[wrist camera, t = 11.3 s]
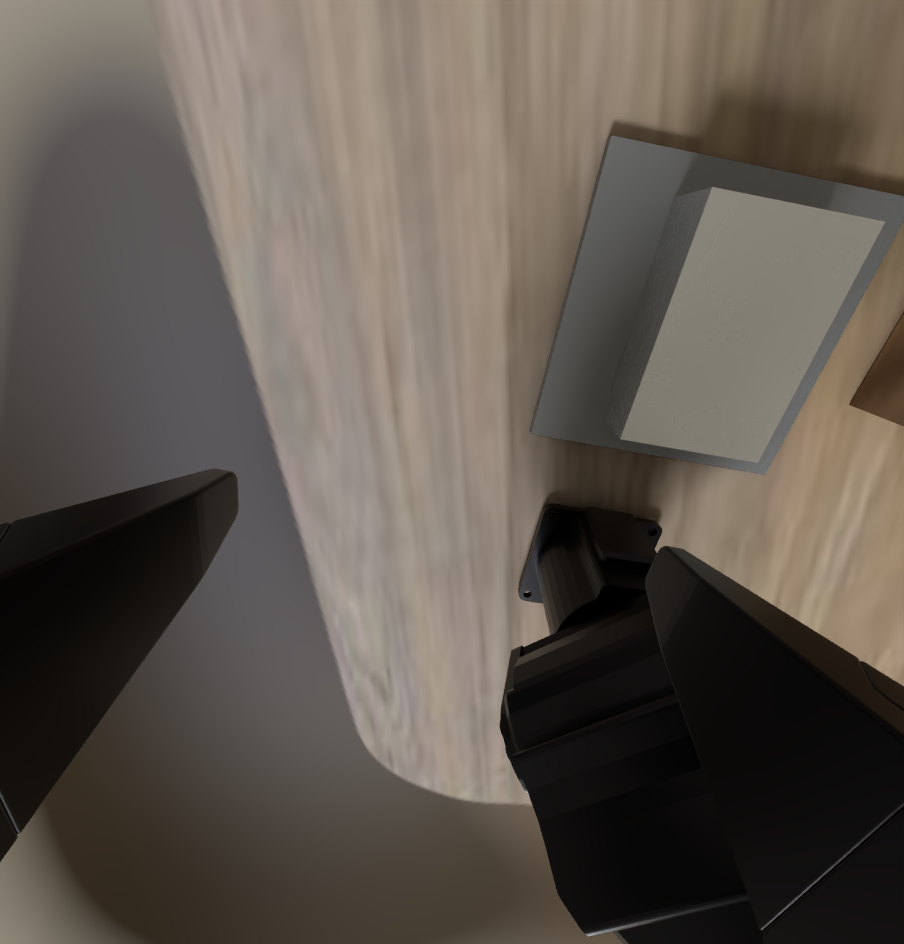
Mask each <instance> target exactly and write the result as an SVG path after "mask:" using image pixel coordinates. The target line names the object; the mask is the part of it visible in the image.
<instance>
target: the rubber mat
mask: <svg viewBox="0 0 904 944" xmlns="http://www.w3.org/2000/svg"><path fill="white" fill-rule="evenodd" d="M710 187H716V188H720V189H725V190H730V191H735V192H740V193H745V194H750V195H755V196H760V197H765V198H770V199H775V200H780V201H785V202H790V203H795V204H800V205H805V206H810V207H815V208H820V209H825V210H830V211H835V212H840V213H845V214H850V215H855V216H859V217H864V218H869V219H874V220H879V221H884V222H885V223H884V225H883V227H882V229H881V231H880V233H879V235H878V237H877V238H876V240H875V242H874V244H873V246H872V248H871V250H870V252H869V254H868V256H867V257H866V259H865V261H864V263H863V265H862V267H861V269H860V271H859V273H858V274H857V276H856V278H855V280H854V282H853V284H852V286H851V288H850V290H849V291H848V293H847V295H846V297H845V299H844V301H843V303H842V305H841V307H840V309H839V310H838V312H837V314H836V316H835V318H834V320H833V322H832V324H831V326H830V327H829V329H828V331H827V333H826V335H825V337H824V339H823V341H822V343H821V344H820V346H819V348H818V350H817V352H816V354H815V356H814V358H813V360H812V362H811V363H810V365H809V367H808V369H807V371H806V373H805V375H804V377H803V379H802V380H801V382H800V384H799V386H798V388H797V390H796V392H795V394H794V396H793V397H792V399H791V401H790V403H789V405H788V407H787V409H786V411H785V413H784V415H783V416H782V418H781V420H780V422H779V424H778V426H777V428H776V430H775V432H774V433H773V435H772V437H771V439H770V441H769V443H768V445H767V447H766V449H765V450H764V452H763V454H762V456H761V458H760V460H759V462H758V463H755V462H749V461H743V460H737V459H732V458H726V457H720V456H714V455H709V454H703V453H697V452H691V451H686V450H680V449H674V448H668V447H662V446H657V445H651V444H645V443H639V442H634V441H628V440H622V439H620V438H619V437H618V436H617V435H616V434H615V432H614V431H613V430H612V429H611V428H610V426H609V425H608V424H607V423H606V421H605V420H604V419H603V418H602V417H601V413H602V411H603V408H604V405H605V402H606V399H607V396H608V393H609V390H610V387H611V384H612V381H613V378H614V375H615V372H616V369H617V366H618V363H619V360H620V357H621V354H622V351H623V348H624V345H625V342H626V339H627V336H628V333H629V330H630V327H631V324H632V321H633V318H634V315H635V312H636V309H637V306H638V303H639V300H640V297H641V294H642V291H643V288H644V285H645V282H646V279H647V276H648V273H649V270H650V267H651V265H652V262H653V259H654V256H655V253H656V250H657V247H658V244H659V241H660V238H661V235H662V232H663V229H664V226H665V223H666V220H667V217H668V214H669V211H670V208H671V205H672V202H673V199H674V198H675V197H678V196H682V195H685V194H689V193H692V192H696V191H699V190H703V189H706V188H710ZM903 221H904V196H901V195H896V194H891V193H886V192H881V191H877V190H872V189H867V188H862V187H857V186H853V185H848V184H843V183H838V182H833V181H829V180H824V179H819V178H814V177H809V176H805V175H800V174H795V173H790V172H785V171H781V170H776V169H771V168H766V167H761V166H757V165H752V164H747V163H742V162H737V161H733V160H728V159H723V158H718V157H713V156H709V155H704V154H699V153H694V152H689V151H685V150H680V149H675V148H670V147H665V146H661V145H656V144H651V143H646V142H641V141H637V140H632V139H627V138H622V137H617V136H613V135H611V136H610V137H609V138H608V140H607V144H606V147H605V151H604V155H603V159H602V162H601V166H600V170H599V174H598V177H597V181H596V185H595V189H594V192H593V196H592V200H591V203H590V207H589V211H588V215H587V218H586V222H585V226H584V230H583V233H582V237H581V241H580V245H579V248H578V252H577V256H576V260H575V263H574V267H573V271H572V274H571V278H570V282H569V286H568V289H567V293H566V297H565V301H564V304H563V308H562V312H561V316H560V319H559V323H558V327H557V331H556V334H555V338H554V342H553V345H552V349H551V353H550V357H549V360H548V364H547V368H546V372H545V375H544V379H543V383H542V387H541V390H540V394H539V398H538V402H537V405H536V409H535V413H534V416H533V420H532V424H531V428H530V432H531V434H534V435H540V436H545V437H551V438H557V439H562V440H568V441H574V442H580V443H585V444H591V445H597V446H602V447H608V448H614V449H620V450H625V451H631V452H637V453H642V454H648V455H654V456H659V457H665V458H671V459H677V460H682V461H688V462H694V463H699V464H705V465H711V466H717V467H722V468H728V469H734V470H739V471H745V472H751V473H756V474H762V475H765V474H766V472H767V470H768V468H769V467H770V465H771V463H772V461H773V459H774V457H775V456H776V454H777V452H778V450H779V448H780V446H781V445H782V443H783V441H784V439H785V437H786V435H787V434H788V432H789V430H790V428H791V426H792V424H793V423H794V421H795V419H796V417H797V415H798V413H799V412H800V410H801V408H802V406H803V404H804V403H805V401H806V399H807V397H808V395H809V393H810V392H811V390H812V388H813V386H814V384H815V382H816V381H817V379H818V377H819V375H820V373H821V371H822V370H823V368H824V366H825V364H826V362H827V360H828V359H829V357H830V355H831V353H832V351H833V349H834V348H835V346H836V344H837V342H838V340H839V338H840V337H841V335H842V333H843V331H844V329H845V328H846V326H847V324H848V322H849V320H850V318H851V317H852V315H853V313H854V311H855V309H856V307H857V306H858V304H859V302H860V300H861V298H862V296H863V295H864V293H865V291H866V289H867V287H868V285H869V284H870V282H871V280H872V278H873V276H874V274H875V273H876V271H877V269H878V267H879V265H880V263H881V262H882V260H883V258H884V256H885V254H886V253H887V251H888V249H889V247H890V245H891V243H892V242H893V240H894V238H895V236H896V234H897V232H898V231H899V229H900V227H901V225H902V223H903Z"/></svg>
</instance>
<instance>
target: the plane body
mask: <svg viewBox="0 0 904 944" xmlns="http://www.w3.org/2000/svg"><path fill="white" fill-rule="evenodd" d="M850 405H851V406H853V407H856V408H859V409H861V410H864V411H866V412H869V413H871V414H874V415H876V416H879V417H882V418H884V419H887V420H889V421H892V422H894V423H897V424H899V425H902V426H904V314H903V315H902V317H901V319H900V321H899V322H898V324H897V326H896V327H895V329H894V331H893V332H892V334H891V336H890V337H889V339H888V341H887V342H886V344H885V346H884V347H883V349H882V351H881V352H880V354H879V356H878V358H877V359H876V361H875V363H874V364H873V366H872V368H871V369H870V371H869V373H868V374H867V376H866V378H865V379H864V381H863V383H862V384H861V386H860V388H859V389H858V391H857V393H856V394H855V396H854V398H853V400H852V401H851V403H850Z"/></svg>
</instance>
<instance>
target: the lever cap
mask: <svg viewBox="0 0 904 944" xmlns="http://www.w3.org/2000/svg"><path fill="white" fill-rule="evenodd" d="M884 223H885V222H884V221H879V220H874V219H869V218H864V217H859V216H855V215H850V214H845V213H840V212H835V211H830V210H825V209H820V208H815V207H810V206H805V205H800V204H795V203H790V202H785V201H780V200H775V199H770V198H765V197H760V196H755V195H750V194H745V193H740V192H735V191H730V190H725V189H720V188H716V187H710V188H706V189H703V190H699V191H696V192H692V193H689V194H685V195H682V196H678V197H675V198H674V199H673V202H672V205H671V208H670V211H669V214H668V217H667V220H666V223H665V226H664V229H663V232H662V235H661V238H660V241H659V244H658V247H657V250H656V253H655V256H654V259H653V262H652V265H651V267H650V270H649V273H648V276H647V279H646V282H645V285H644V288H643V291H642V294H641V297H640V300H639V303H638V306H637V309H636V312H635V315H634V318H633V321H632V324H631V327H630V330H629V333H628V336H627V339H626V342H625V345H624V348H623V351H622V354H621V357H620V360H619V363H618V366H617V369H616V372H615V375H614V378H613V381H612V384H611V387H610V390H609V393H608V396H607V399H606V402H605V405H604V408H603V411H602V413H601V417H602V418H603V419H604V420H605V421H606V423H607V424H608V425H609V426H610V428H611V429H612V430H613V431H614V432H615V434H616V435H617V436H618V437H619V438H620V439H622V440H628V441H634V442H639V443H645V444H651V445H657V446H662V447H668V448H674V449H680V450H686V451H691V452H697V453H703V454H709V455H714V456H720V457H726V458H732V459H737V460H743V461H749V462H755V463H758V462H759V460H760V458H761V456H762V454H763V452H764V450H765V449H766V447H767V445H768V443H769V441H770V439H771V437H772V435H773V433H774V432H775V430H776V428H777V426H778V424H779V422H780V420H781V418H782V416H783V415H784V413H785V411H786V409H787V407H788V405H789V403H790V401H791V399H792V397H793V396H794V394H795V392H796V390H797V388H798V386H799V384H800V382H801V380H802V379H803V377H804V375H805V373H806V371H807V369H808V367H809V365H810V363H811V362H812V360H813V358H814V356H815V354H816V352H817V350H818V348H819V346H820V344H821V343H822V341H823V339H824V337H825V335H826V333H827V331H828V329H829V327H830V326H831V324H832V322H833V320H834V318H835V316H836V314H837V312H838V310H839V309H840V307H841V305H842V303H843V301H844V299H845V297H846V295H847V293H848V291H849V290H850V288H851V286H852V284H853V282H854V280H855V278H856V276H857V274H858V273H859V271H860V269H861V267H862V265H863V263H864V261H865V259H866V257H867V256H868V254H869V252H870V250H871V248H872V246H873V244H874V242H875V240H876V238H877V237H878V235H879V233H880V231H881V229H882V227H883V225H884Z"/></svg>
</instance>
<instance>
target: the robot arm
mask: <svg viewBox="0 0 904 944" xmlns="http://www.w3.org/2000/svg"><path fill="white" fill-rule="evenodd" d="M238 507H239V505H238V480H237V476H236V474H235V473H234V472H232V471H227V470H222V469H216V468H214V469H209V470H205V471H202V472H198V473H194V474H190V475H186V476H182V477H179V478H175V479H171V480H167V481H163V482H160V483H156V484H152V485H148V486H144V487H140V488H137V489H133V490H129V491H125V492H121V493H117V494H114V495H110V496H106V497H102V498H98V499H94V500H91V501H87V502H84V503H80V504H75V505H72V506H68V507H64V508H60V509H56V510H52V511H48V512H45V513H41V514H37V515H33V516H29V517H26V518H22V519H18V520H15V521H13V522H12V524H11V523H9V522H6V523H2V524H0V862H1V860H2V859H3V858H4V856H5V855H6V853H7V852H8V851H9V849H10V848H11V846H12V845H13V844H14V842H15V841H16V839H17V837H18V836H17V834H19V833H21V831H22V830H23V829H24V828H25V826H26V825H27V823H28V822H29V821H30V819H31V818H32V816H33V815H34V814H35V812H36V811H37V809H38V808H39V806H40V805H41V804H42V802H43V801H44V800H45V798H46V796H47V795H48V794H49V793H50V791H51V790H52V788H53V787H54V785H55V784H56V783H57V781H58V780H59V778H60V777H61V776H62V774H63V773H64V771H65V770H66V769H67V767H68V766H69V765H70V763H71V762H72V760H73V759H74V758H75V756H76V755H77V753H78V752H79V750H80V749H81V748H82V746H83V745H84V744H85V742H86V741H87V739H88V738H89V737H90V735H91V734H92V732H93V731H94V729H95V728H96V727H97V725H98V724H99V723H100V721H101V720H102V718H103V717H104V715H105V714H106V713H107V711H108V710H109V708H110V707H111V706H112V704H113V703H114V701H115V700H116V699H117V697H118V696H119V695H120V693H121V692H122V690H123V689H124V688H125V686H126V685H127V683H128V682H129V681H130V679H131V678H132V676H133V675H134V673H135V672H136V671H137V669H138V668H139V667H140V665H141V664H142V662H143V661H144V660H145V658H146V657H147V655H148V654H149V652H150V651H151V650H152V648H153V647H154V646H155V644H156V643H157V641H158V640H159V638H160V637H161V636H162V634H163V633H164V631H165V630H166V629H167V627H168V626H169V625H170V623H171V622H172V620H173V619H174V617H175V616H176V615H177V613H178V612H179V611H180V609H181V608H182V606H183V605H184V603H185V602H186V601H187V599H188V598H189V597H190V595H191V594H192V592H193V591H194V590H195V588H196V587H197V585H198V584H199V582H200V581H201V579H202V578H203V576H204V575H205V573H206V571H207V570H208V568H209V566H210V564H211V562H212V561H213V559H214V557H215V555H216V553H217V551H218V549H219V548H220V546H221V544H222V542H223V540H224V538H225V537H226V535H227V533H228V532H229V530H230V528H231V526H232V524H233V522H234V520H235V519H236V516H237V513H238ZM552 511H554V512H556V513H555V515H553V516H550V515H548V514H549V513H550V512H552ZM651 528H654V530H653V531H651V532H648V531H649V529H651ZM661 534H662V528H661V527H660V525H659V524H658V523H657V522H656V521H653V520H648V519H642V518H636V517H634V516H633V515H632V514H628V513H622V512H616V511H610V510H604V509H598V508H592V507H587V508H584V509H582V508H577V507H571V506H565V505H559V504H548V505H546V506H545V507H544V508H543V510H542V513H541V516H540V520H539V523H538V526H537V529H536V533H535V536H534V539H533V542H532V546H531V549H530V552H529V555H528V559H527V562H526V565H525V568H524V572H523V575H522V578H521V581H520V585H519V588H518V593H519V597H520V598H521V599H522V600H525V601H530V602H537V603H543V604H544V609H545V613H546V618H547V623H548V627H549V632H550V636H548V637H545V638H543V639H541V640H539V641H537V642H534V643H532V644H530V645H528V646H525V647H523V646H520V647H517V648H515V649H513V650H512V651H511V656H510V661H509V667H508V672H507V678H506V683H505V689H504V694H503V699H502V705H501V719H500V730H501V733H502V736H503V738H504V742H505V749H506V754H507V756H508V758H509V760H510V761H511V764H512V767H513V769H514V771H515V773H516V775H517V777H518V779H519V781H520V783H521V785H522V786H523V788H524V789H525V791H526V792H527V793H528V795H529V796H530V799H531V802H532V805H533V808H534V810H535V813H536V816H537V819H538V822H539V825H540V828H541V832H542V836H543V839H544V842H545V846H546V850H547V854H548V858H549V862H550V866H551V870H552V874H553V878H554V881H555V885H556V889H557V892H558V895H559V897H560V898H561V900H562V901H563V903H564V905H565V906H566V907H567V909H568V911H569V912H570V913H571V915H572V917H573V918H574V920H575V921H576V923H577V924H578V926H579V927H580V929H581V930H582V931H583V932H584V933H585V934H586V935H587V936H589V937H592V936H597V935H601V934H606V933H610V932H614V934H615V935H616V936H617V937H618V938H619V939H620V940H621V941H622V942H623V943H624V944H904V686H902V685H901V684H899V683H898V682H896V681H894V680H893V679H891V678H889V677H888V676H886V675H884V674H883V673H881V672H880V671H878V670H876V669H875V668H873V667H872V666H870V665H868V664H867V663H865V662H863V661H859V659H858V658H857V657H855V656H854V655H852V654H851V653H849V652H847V651H846V650H844V649H843V648H841V647H839V646H838V645H836V644H835V643H833V642H831V641H830V640H828V639H827V638H825V637H823V636H822V635H820V634H819V633H817V632H815V631H814V630H812V629H811V628H809V627H807V626H806V625H804V624H802V623H801V622H799V621H798V620H796V619H794V618H793V617H791V616H790V615H788V614H786V613H785V612H783V611H782V610H780V609H778V608H777V607H775V606H774V605H772V604H770V603H769V602H767V601H766V600H764V599H762V598H761V597H759V596H758V595H756V594H754V593H753V592H751V591H750V590H748V589H746V588H745V587H743V586H742V585H740V584H738V583H737V582H735V581H734V580H732V579H730V578H729V577H727V576H725V575H724V574H722V573H721V572H719V571H717V570H716V569H714V568H713V567H711V566H709V565H708V564H706V563H705V562H703V561H701V560H700V559H698V558H697V557H695V556H693V555H692V554H690V553H689V552H687V551H685V550H683V549H681V548H675V547H669V546H664V547H662V548H660V549H659V551H658V553H656V551H655V547H656V545H657V542H658V540H659V538H660V536H661ZM525 591H530V592H529V593H524V592H525Z"/></svg>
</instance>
